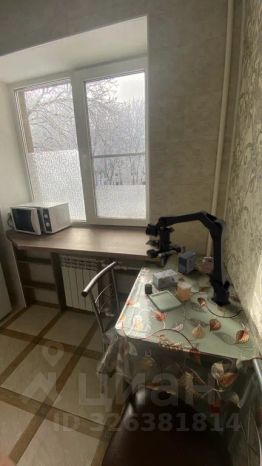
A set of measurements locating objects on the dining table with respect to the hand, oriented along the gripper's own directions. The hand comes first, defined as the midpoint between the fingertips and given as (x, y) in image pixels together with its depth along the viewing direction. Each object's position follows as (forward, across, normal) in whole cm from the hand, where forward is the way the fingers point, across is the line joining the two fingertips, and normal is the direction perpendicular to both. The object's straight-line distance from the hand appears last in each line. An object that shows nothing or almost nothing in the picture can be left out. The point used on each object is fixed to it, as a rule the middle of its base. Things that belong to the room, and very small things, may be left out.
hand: (163, 265), depth 114 cm
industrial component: (+11, -24, -16) cm, 31 cm away
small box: (+11, -20, -6) cm, 24 cm away
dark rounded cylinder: (+11, +12, +5) cm, 17 cm away
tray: (+10, +8, +15) cm, 20 cm away
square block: (+10, -2, +16) cm, 19 cm away
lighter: (+10, -30, +2) cm, 32 cm away
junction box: (+10, 0, +2) cm, 11 cm away
